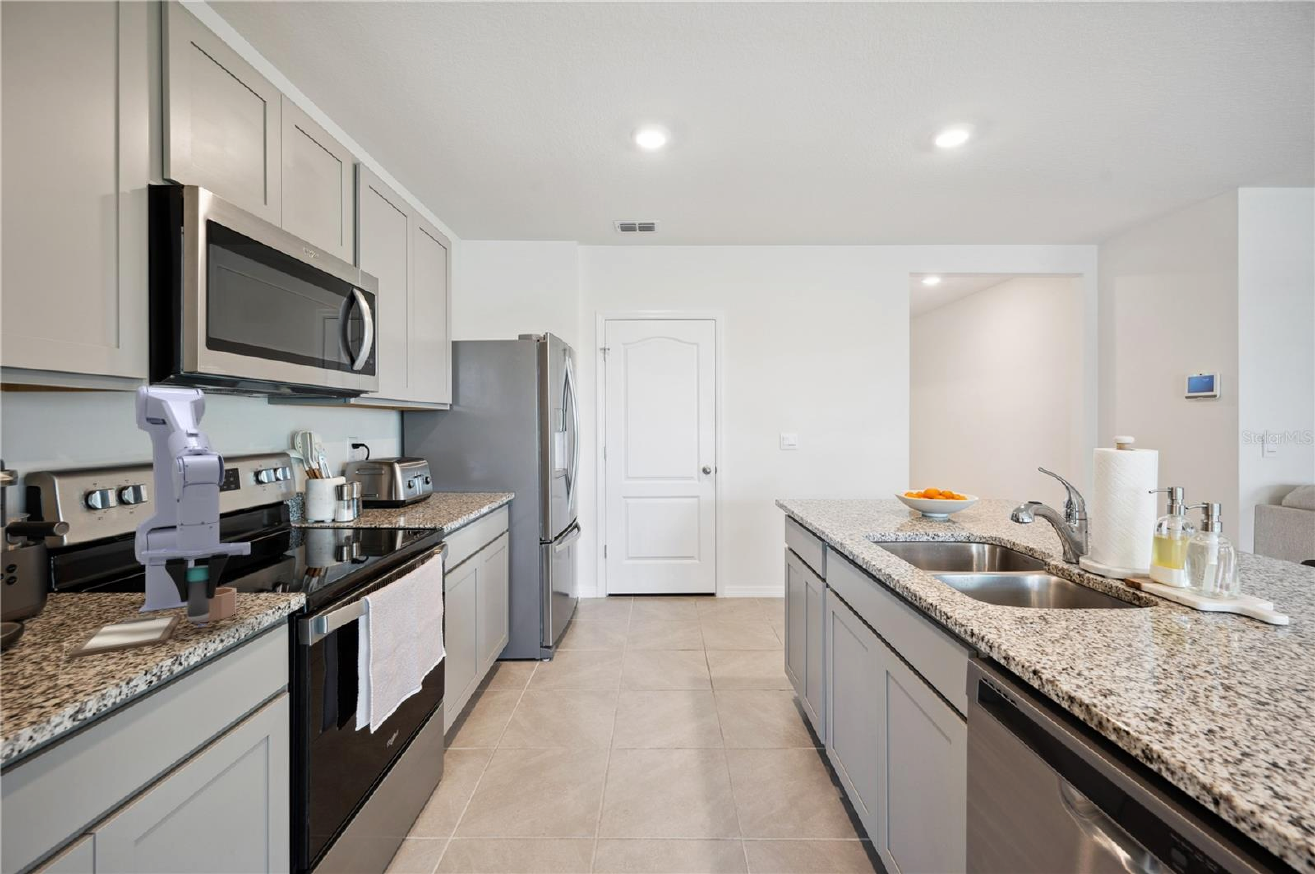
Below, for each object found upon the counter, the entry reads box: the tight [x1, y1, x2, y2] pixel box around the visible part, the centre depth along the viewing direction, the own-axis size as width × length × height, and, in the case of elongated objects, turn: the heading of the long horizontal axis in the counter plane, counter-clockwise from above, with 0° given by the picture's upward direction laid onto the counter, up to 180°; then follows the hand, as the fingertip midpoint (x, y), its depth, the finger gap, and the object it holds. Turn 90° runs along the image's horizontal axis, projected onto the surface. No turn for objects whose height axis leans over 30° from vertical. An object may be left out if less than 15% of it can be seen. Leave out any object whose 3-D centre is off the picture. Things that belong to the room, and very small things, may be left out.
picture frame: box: [68, 614, 183, 659], centre depth 90 cm, size 14×11×1 cm
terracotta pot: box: [195, 586, 238, 623], centre depth 100 cm, size 6×6×4 cm
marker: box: [186, 565, 209, 622], centre depth 93 cm, size 3×3×9 cm
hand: (198, 599), depth 93 cm, fingers closed on marker, 3 cm apart
